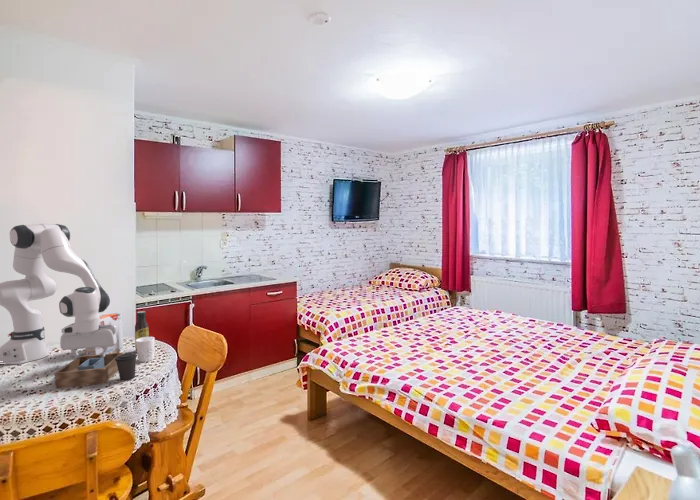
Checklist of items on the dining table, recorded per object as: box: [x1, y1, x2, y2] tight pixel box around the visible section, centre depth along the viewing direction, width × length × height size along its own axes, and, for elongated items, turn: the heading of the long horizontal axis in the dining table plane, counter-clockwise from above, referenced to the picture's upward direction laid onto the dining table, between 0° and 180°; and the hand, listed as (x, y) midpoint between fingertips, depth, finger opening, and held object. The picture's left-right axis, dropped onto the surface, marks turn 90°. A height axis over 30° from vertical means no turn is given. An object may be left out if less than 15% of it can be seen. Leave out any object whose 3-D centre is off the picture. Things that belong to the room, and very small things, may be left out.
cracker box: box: [84, 313, 121, 356], centre depth 182 cm, size 14×6×21 cm, turn 168°
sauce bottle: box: [134, 310, 150, 353], centre depth 195 cm, size 7×6×20 cm
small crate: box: [77, 358, 105, 370], centre depth 164 cm, size 6×10×5 cm, turn 12°
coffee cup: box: [115, 352, 138, 382], centre depth 160 cm, size 8×8×10 cm
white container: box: [99, 312, 124, 350], centre depth 199 cm, size 15×15×18 cm
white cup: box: [135, 336, 156, 363], centre depth 182 cm, size 8×8×10 cm
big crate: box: [54, 352, 124, 389], centre depth 164 cm, size 18×20×6 cm
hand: (90, 357), depth 163 cm, fingers open, 8 cm apart
